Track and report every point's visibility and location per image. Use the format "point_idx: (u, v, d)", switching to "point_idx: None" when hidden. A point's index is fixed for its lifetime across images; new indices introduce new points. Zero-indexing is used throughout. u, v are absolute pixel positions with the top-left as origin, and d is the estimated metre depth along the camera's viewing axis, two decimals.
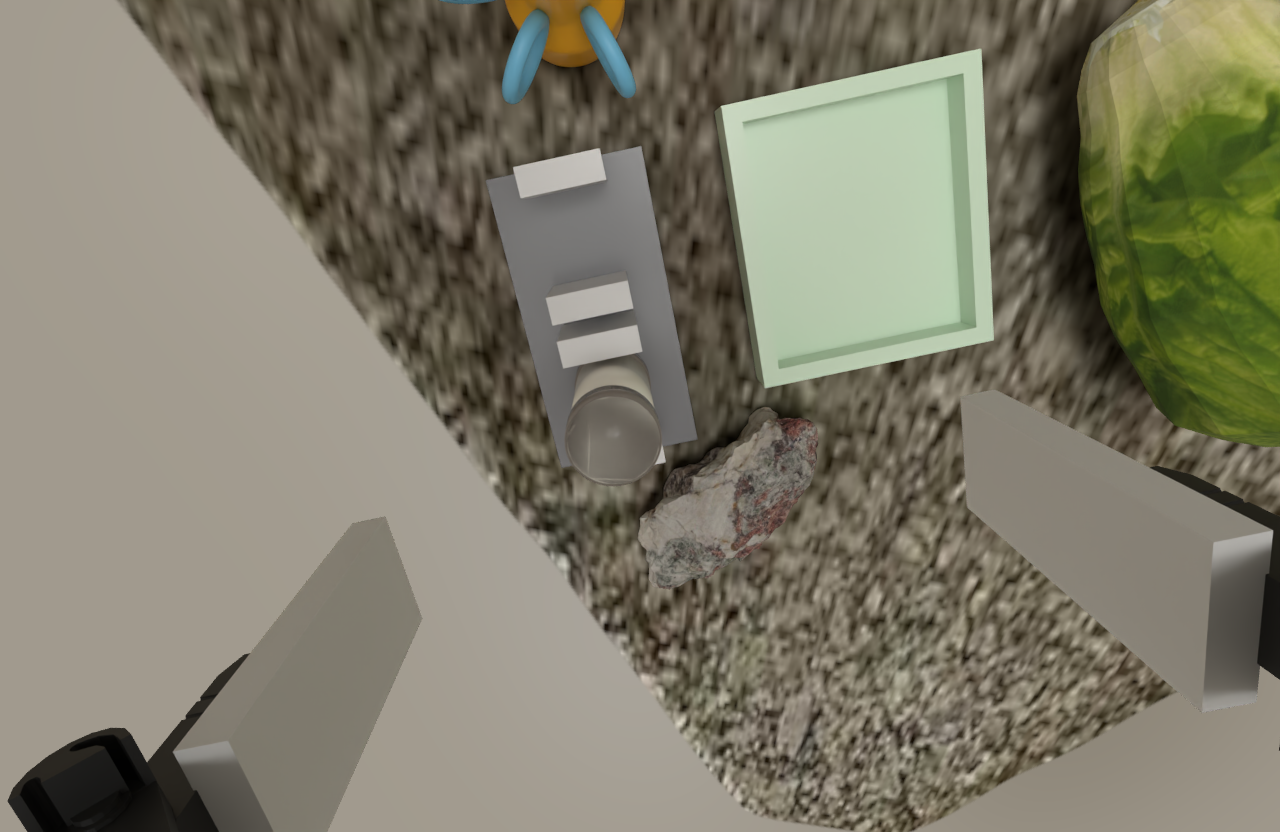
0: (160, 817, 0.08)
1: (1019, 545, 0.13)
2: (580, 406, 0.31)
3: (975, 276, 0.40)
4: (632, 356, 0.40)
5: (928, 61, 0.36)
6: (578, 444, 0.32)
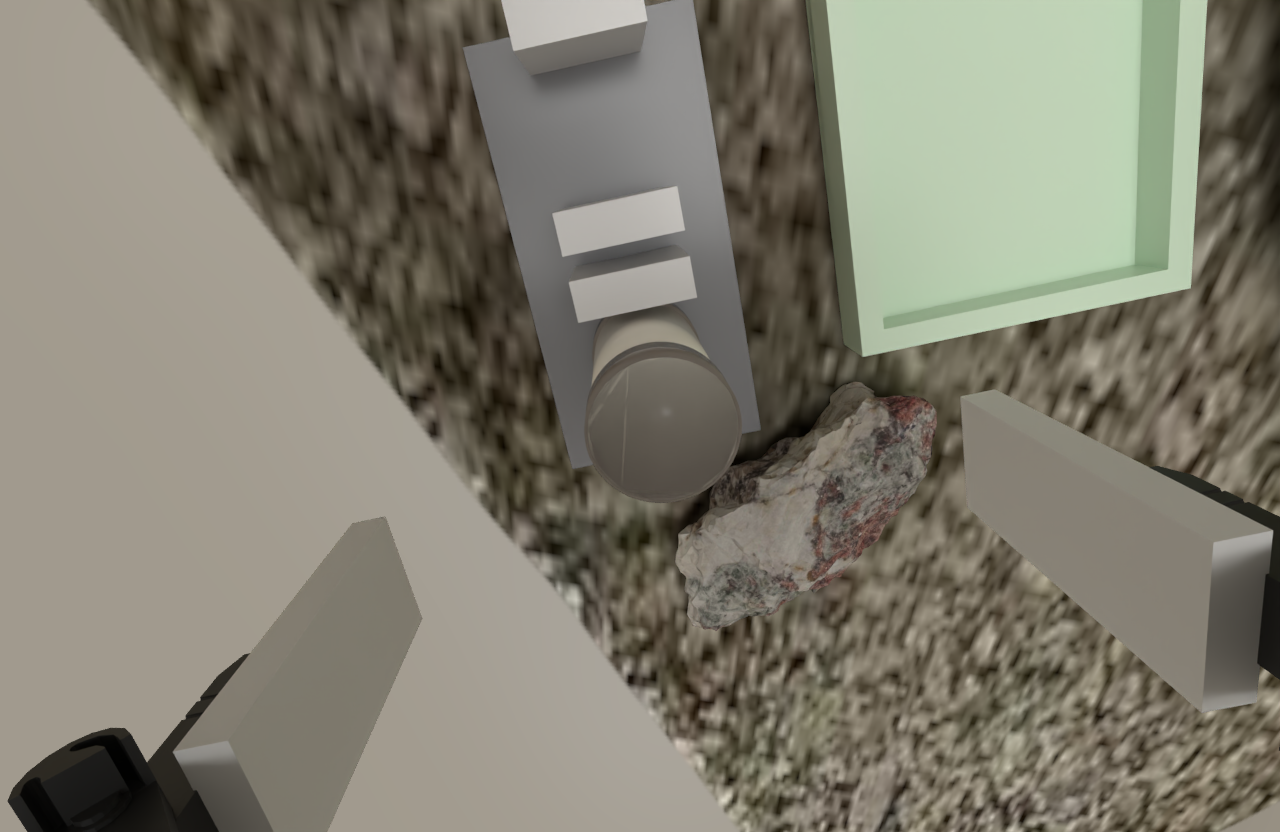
0: (160, 817, 0.08)
1: (1020, 544, 0.13)
2: (610, 374, 0.19)
3: (1173, 193, 0.27)
4: (675, 310, 0.28)
5: None
6: (606, 436, 0.20)
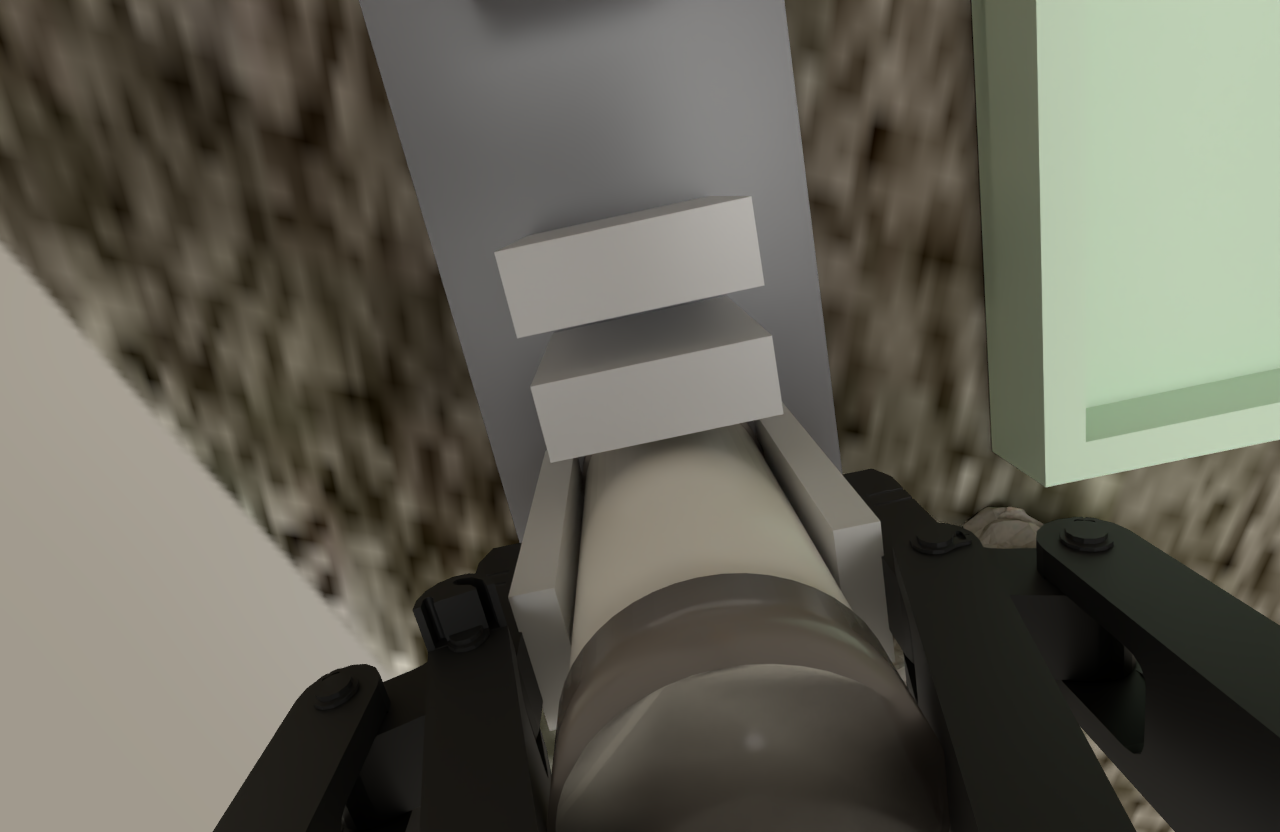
0: (508, 657, 0.10)
1: None
2: (616, 702, 0.07)
3: None
4: None
5: None
6: None
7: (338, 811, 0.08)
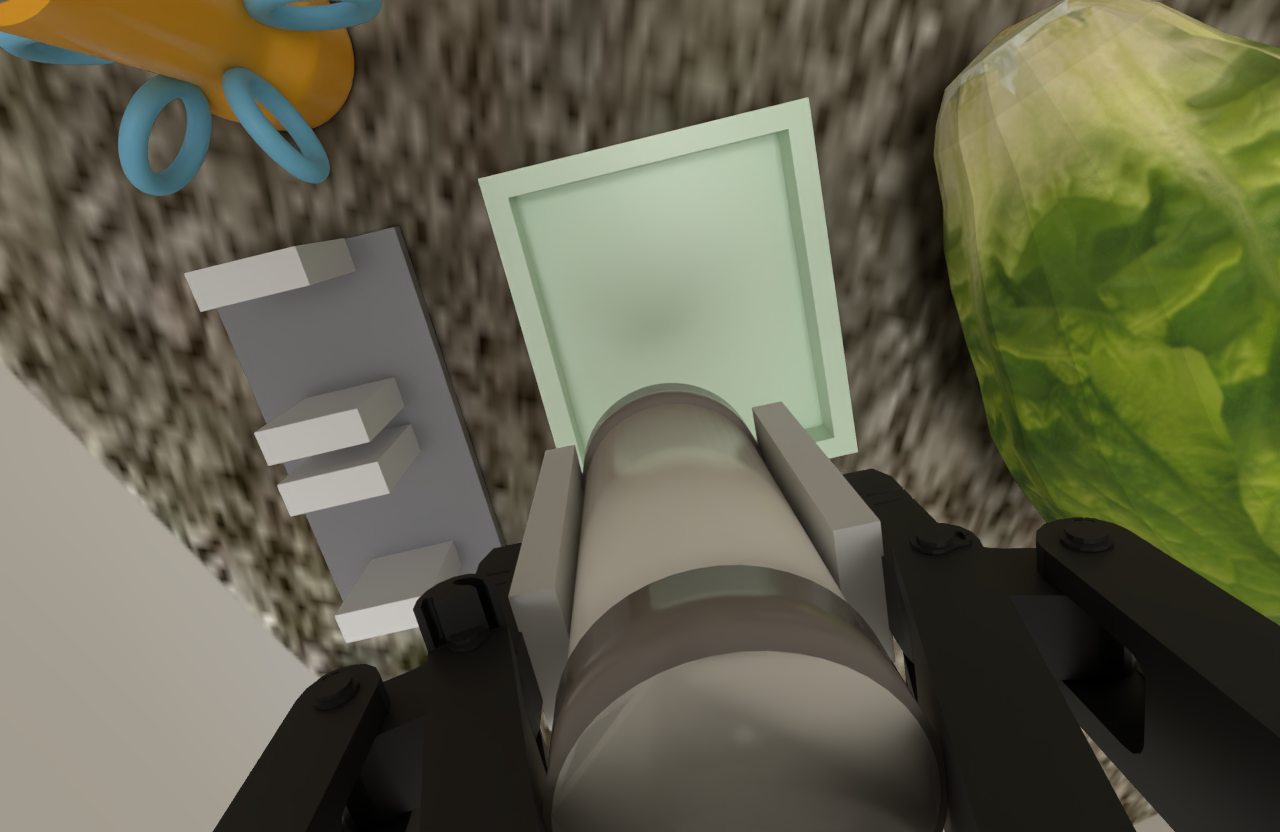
0: (508, 657, 0.10)
1: None
2: (612, 689, 0.07)
3: (827, 376, 0.32)
4: (726, 415, 0.16)
5: (741, 115, 0.28)
6: None
7: (338, 811, 0.08)
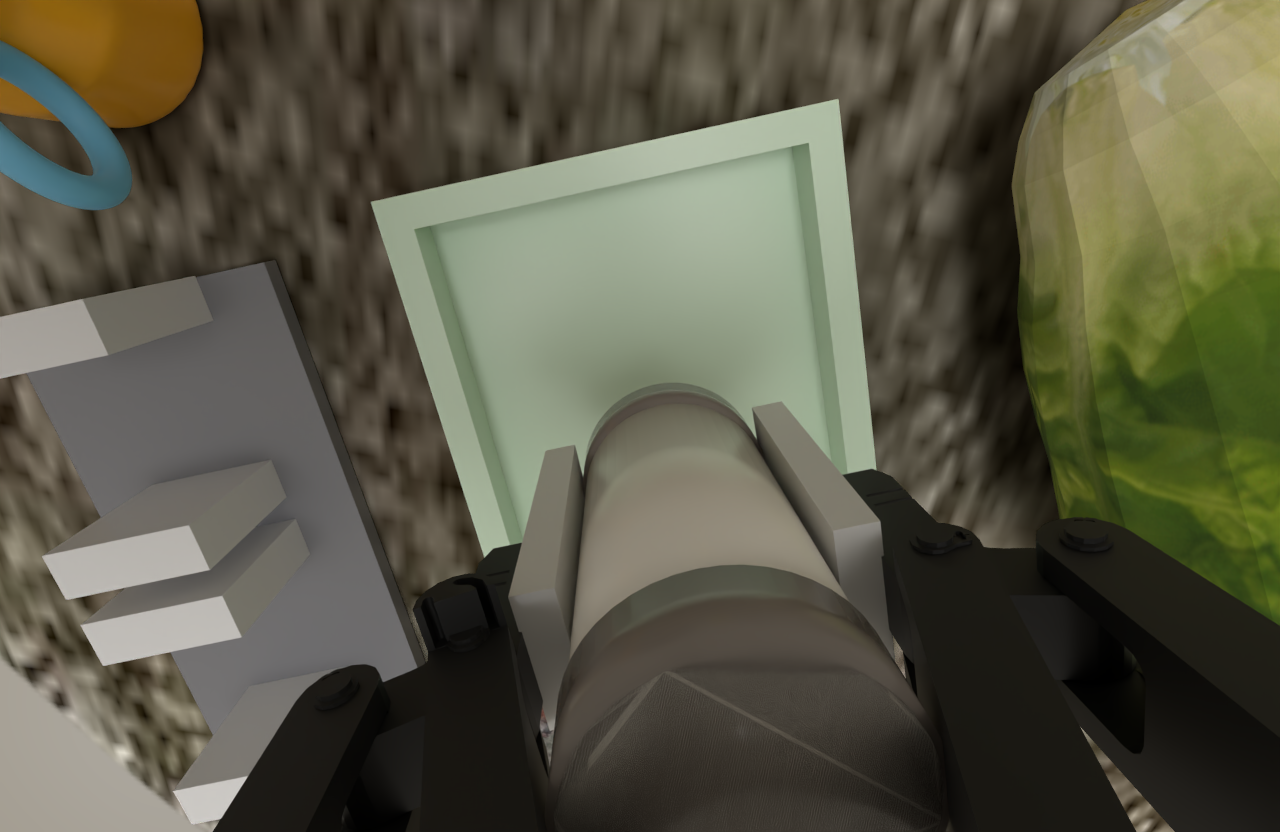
0: (508, 657, 0.10)
1: None
2: (614, 689, 0.07)
3: None
4: (727, 414, 0.16)
5: (743, 122, 0.20)
6: None
7: (338, 811, 0.08)
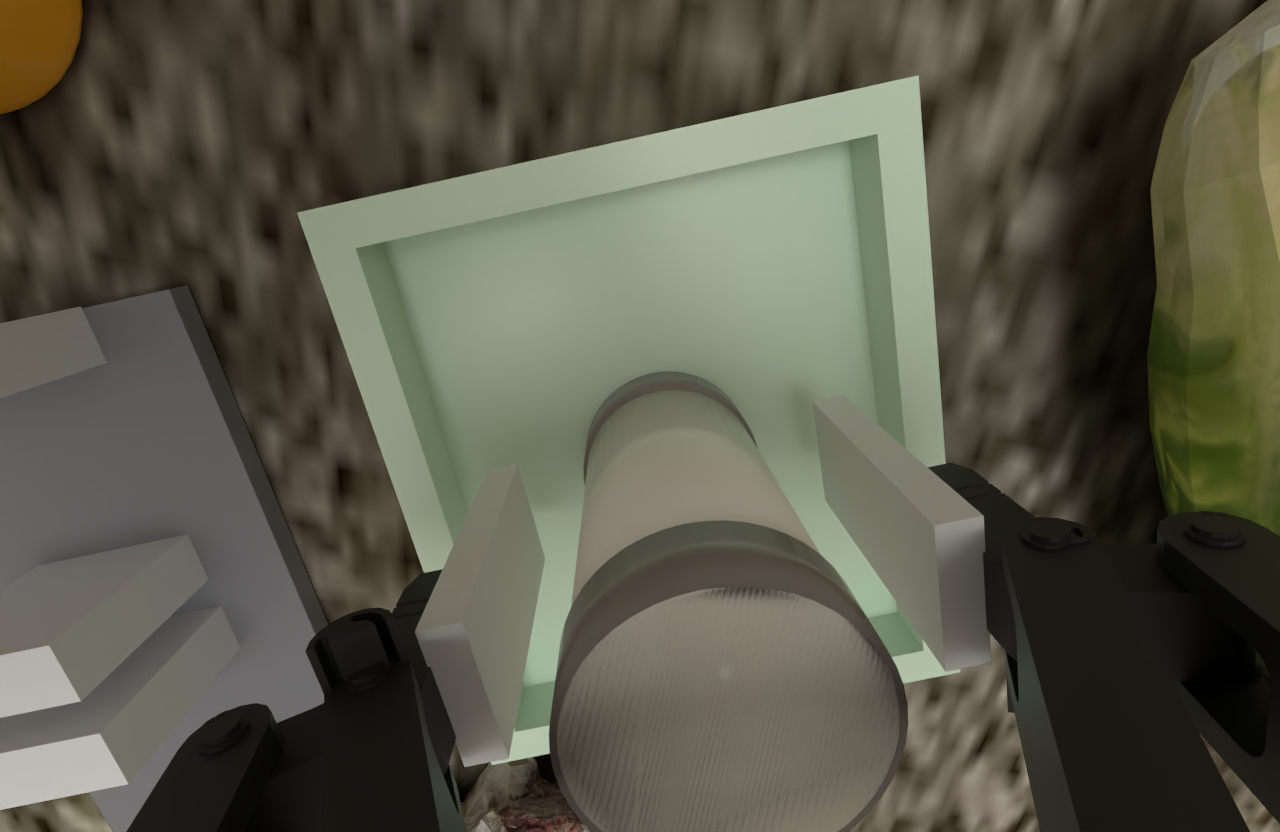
0: (410, 692, 0.09)
1: (853, 533, 0.15)
2: (610, 621, 0.08)
3: None
4: (719, 400, 0.17)
5: (791, 106, 0.15)
6: (600, 752, 0.09)
7: None
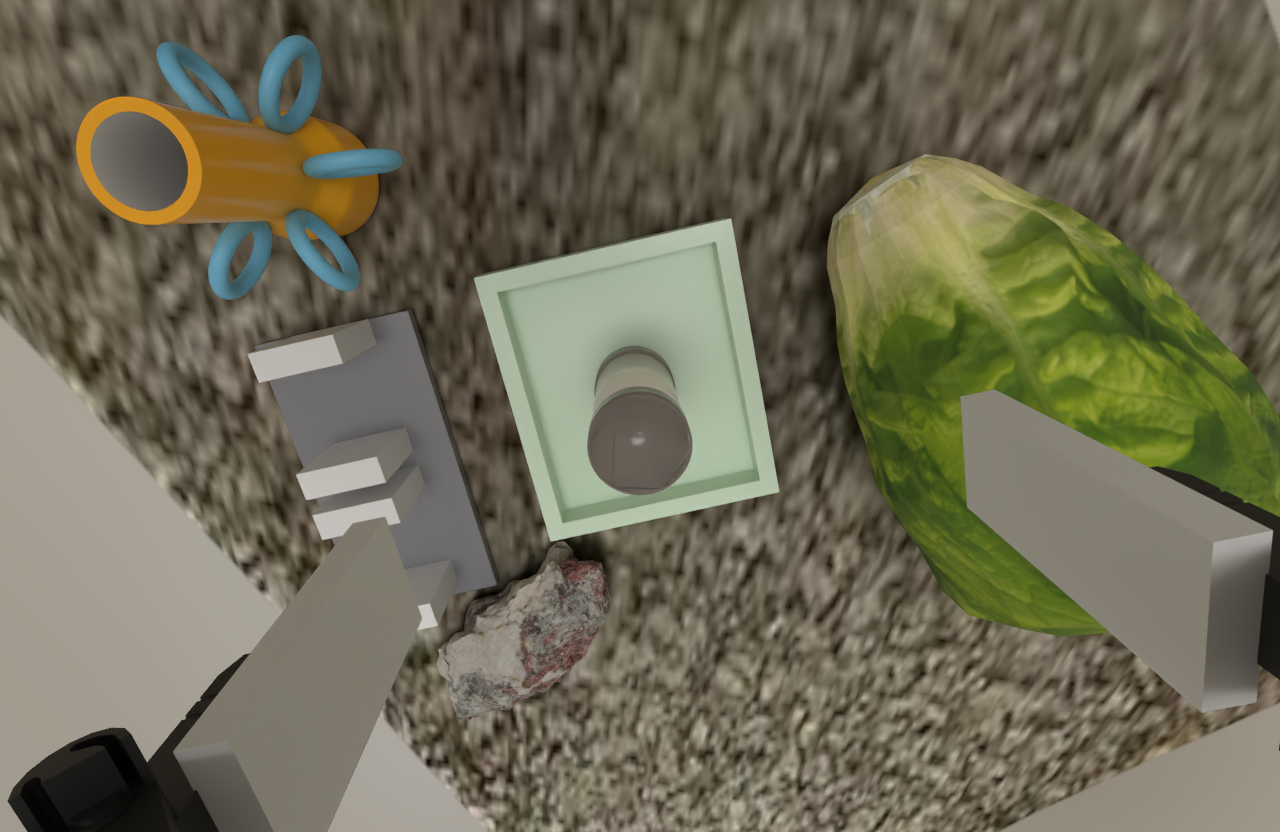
0: (160, 817, 0.08)
1: (1019, 545, 0.13)
2: (604, 409, 0.29)
3: (753, 432, 0.39)
4: (655, 358, 0.38)
5: (679, 231, 0.36)
6: (602, 450, 0.30)
7: None
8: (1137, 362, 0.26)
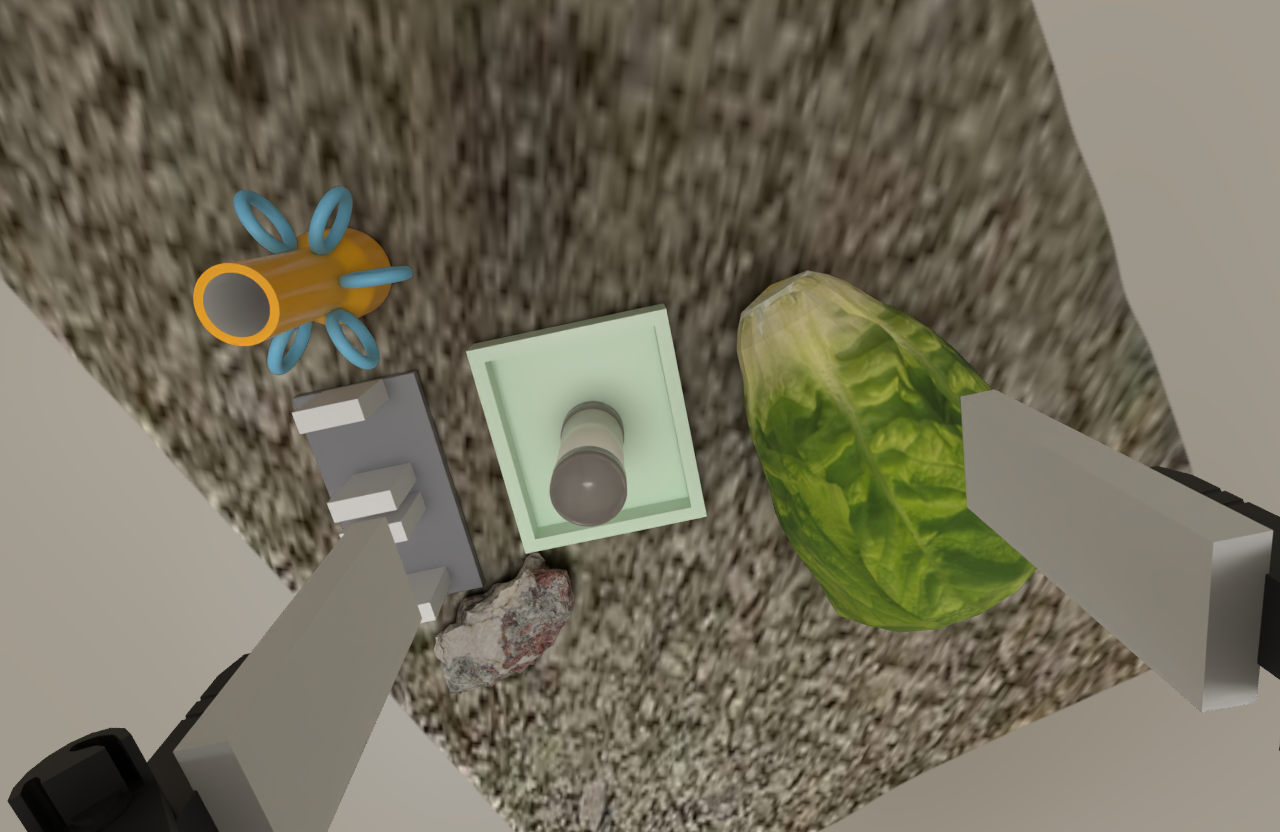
0: (160, 817, 0.08)
1: (1019, 544, 0.13)
2: (561, 464, 0.40)
3: (685, 470, 0.50)
4: (608, 412, 0.49)
5: (625, 318, 0.46)
6: (560, 494, 0.40)
7: None
8: (938, 440, 0.37)
